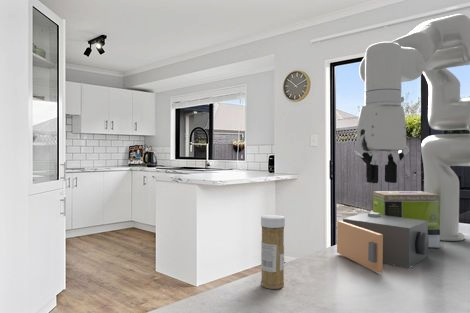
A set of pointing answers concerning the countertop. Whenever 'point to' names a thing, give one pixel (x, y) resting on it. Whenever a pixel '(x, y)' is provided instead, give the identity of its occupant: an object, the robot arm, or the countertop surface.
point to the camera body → (396, 237)
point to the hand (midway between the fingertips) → (381, 181)
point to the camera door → (360, 245)
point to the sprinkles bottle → (272, 251)
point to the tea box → (411, 209)
